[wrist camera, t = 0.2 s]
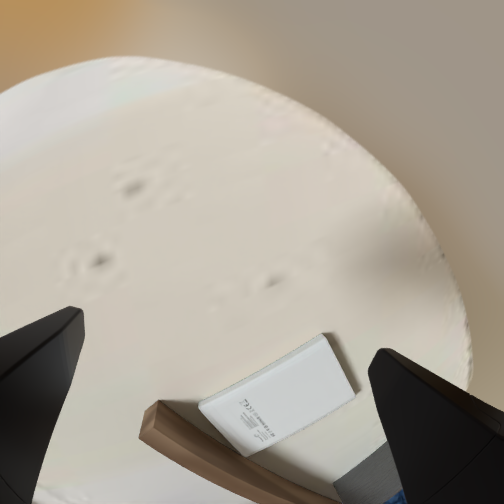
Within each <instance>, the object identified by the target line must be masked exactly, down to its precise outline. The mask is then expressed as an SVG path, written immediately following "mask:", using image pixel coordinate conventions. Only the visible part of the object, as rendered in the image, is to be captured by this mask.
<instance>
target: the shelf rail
mask: <svg viewBox="0 0 504 504" xmlns="http://www.w3.org/2000/svg"><path fill="white" fill-rule="evenodd" d="M139 439H140V440H141V441H143V442H144V443H146V444H147V445H149V446H150V447H152V448H153V449H155V450H157V451H158V452H160V453H161V454H163V455H164V456H166V457H168V458H169V459H171V460H173V461H174V462H176V463H178V464H179V465H181V466H183V467H185V468H186V469H188V470H190V471H192V472H193V473H195V474H197V475H199V476H201V477H203V478H205V479H207V480H208V481H210V482H212V483H214V484H216V485H218V486H220V487H223V488H225V489H227V490H229V491H231V492H233V493H235V494H238V495H240V496H242V497H244V498H247V499H249V500H251V501H254V502H256V503H259V504H342V503H339V502H337V501H334V500H332V499H329V498H327V497H324V496H322V495H319V494H317V493H315V492H312V491H310V490H308V489H305V488H303V487H301V486H299V485H297V484H295V483H292V482H290V481H288V480H286V479H284V478H282V477H280V476H278V475H276V474H274V473H272V472H270V471H268V470H266V469H264V468H263V467H261V466H259V465H257V464H255V463H253V462H252V461H250V460H248V459H246V458H245V457H243V456H241V455H239V454H238V453H236V452H234V451H233V450H231V449H229V448H228V447H226V446H224V445H223V444H221V443H219V442H218V441H216V440H215V439H213V438H212V437H210V436H209V435H207V434H205V433H204V432H202V431H201V430H199V429H198V428H196V427H195V426H194V425H192V424H191V423H189V422H188V421H186V420H185V419H183V418H182V417H181V416H179V415H178V414H177V413H175V412H174V411H172V410H171V409H170V408H168V407H167V406H166V405H164V404H163V403H162V402H160V401H159V400H158V401H157V402H155V403H154V404H153V405H152V406H150V407H149V408H148V409H147V410H146V411H145V413H144V417H143V421H142V426H141V430H140V434H139Z"/></svg>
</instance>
